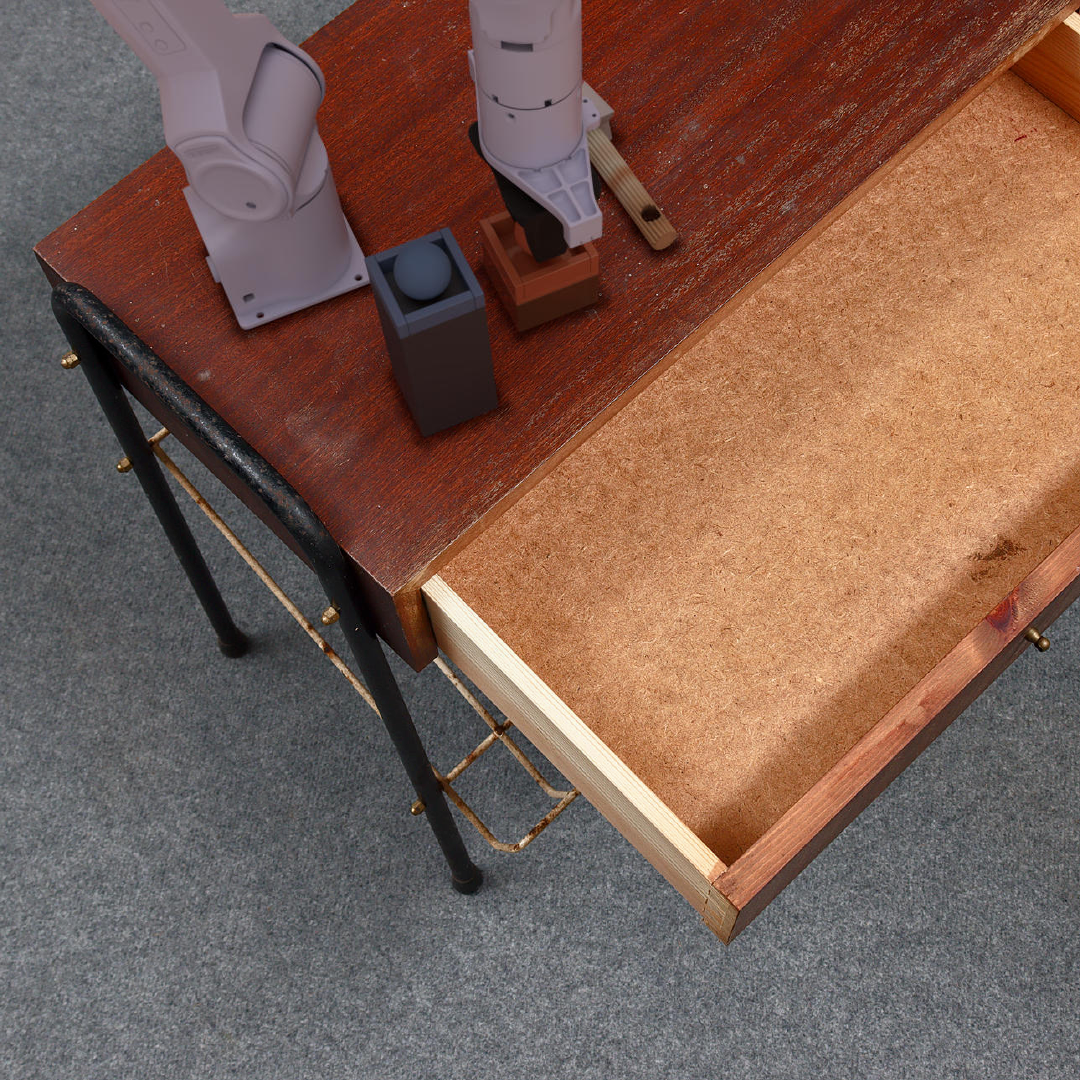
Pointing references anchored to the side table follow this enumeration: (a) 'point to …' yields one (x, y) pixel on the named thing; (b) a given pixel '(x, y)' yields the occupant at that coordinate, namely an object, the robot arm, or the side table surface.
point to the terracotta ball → (521, 238)
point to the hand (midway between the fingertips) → (538, 233)
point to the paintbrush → (625, 178)
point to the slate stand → (437, 340)
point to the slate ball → (422, 270)
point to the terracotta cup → (537, 275)
